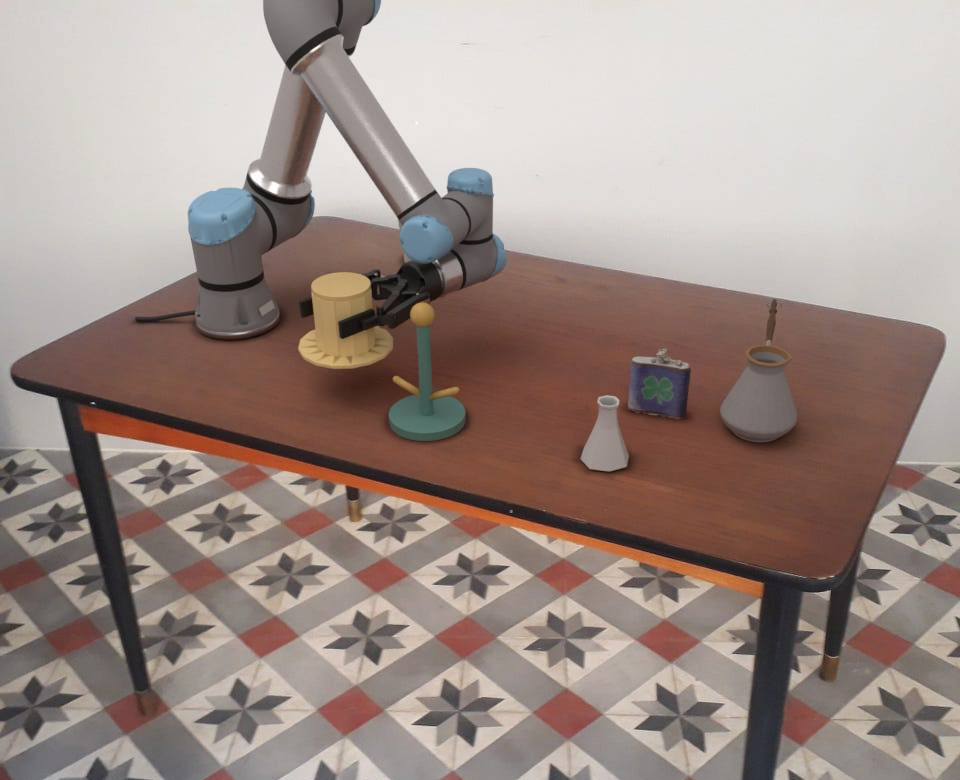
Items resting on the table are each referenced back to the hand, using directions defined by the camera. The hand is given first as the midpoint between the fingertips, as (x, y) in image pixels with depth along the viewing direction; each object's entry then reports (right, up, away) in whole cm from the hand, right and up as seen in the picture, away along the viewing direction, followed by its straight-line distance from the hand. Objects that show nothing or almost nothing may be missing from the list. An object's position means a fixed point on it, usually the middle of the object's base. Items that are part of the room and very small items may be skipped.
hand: (320, 319), depth 162 cm
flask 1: (+43, -22, -8) cm, 49 cm away
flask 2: (+53, -14, +3) cm, 55 cm away
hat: (+3, -3, +6) cm, 8 cm away
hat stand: (+17, -16, +2) cm, 23 cm away
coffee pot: (+69, -15, +2) cm, 70 cm away
